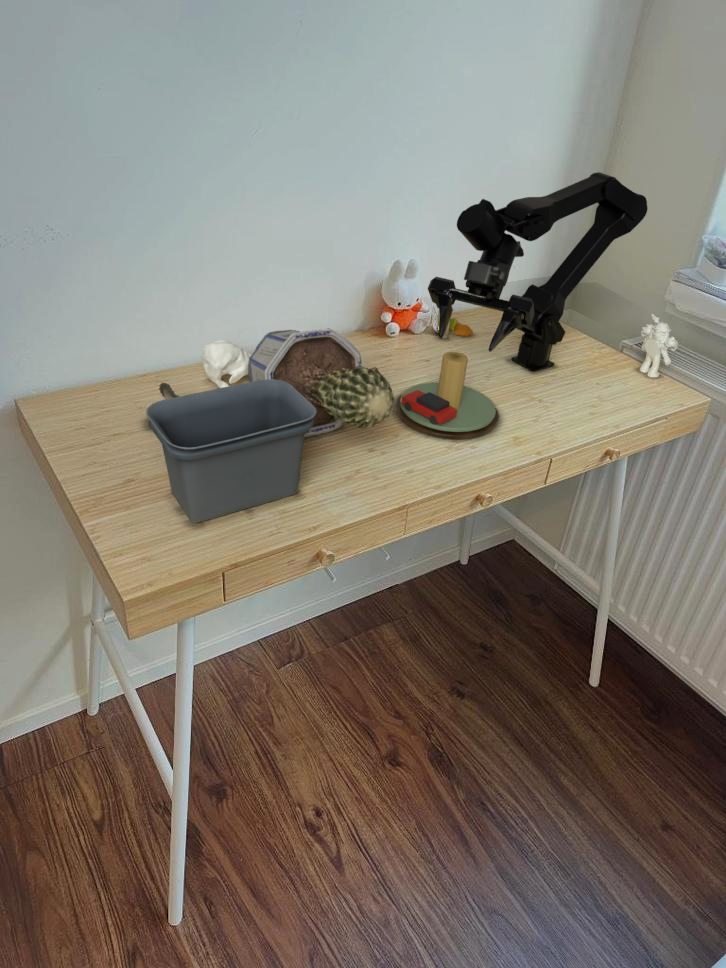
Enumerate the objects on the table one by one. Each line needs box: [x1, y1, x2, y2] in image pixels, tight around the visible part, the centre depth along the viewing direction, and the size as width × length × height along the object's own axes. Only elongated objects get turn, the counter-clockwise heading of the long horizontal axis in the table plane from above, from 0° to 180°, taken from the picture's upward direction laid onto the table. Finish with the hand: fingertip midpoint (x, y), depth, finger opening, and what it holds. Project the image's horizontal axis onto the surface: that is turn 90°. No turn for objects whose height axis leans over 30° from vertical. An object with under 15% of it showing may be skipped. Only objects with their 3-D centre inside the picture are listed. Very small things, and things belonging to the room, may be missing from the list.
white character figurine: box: [639, 313, 679, 378], centre depth 155 cm, size 9×4×12 cm, turn 24°
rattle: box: [436, 309, 474, 340], centre depth 163 cm, size 8×8×12 cm
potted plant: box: [247, 327, 396, 438], centre depth 123 cm, size 18×18×30 cm
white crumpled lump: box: [200, 339, 253, 389], centre depth 139 cm, size 6×8×12 cm
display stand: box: [395, 393, 500, 441], centre depth 138 cm, size 18×18×1 cm
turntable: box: [400, 351, 497, 432], centre depth 134 cm, size 17×17×10 cm
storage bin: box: [145, 379, 317, 523], centre depth 109 cm, size 21×16×14 cm
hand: (464, 344), depth 135 cm, fingers open, 9 cm apart
